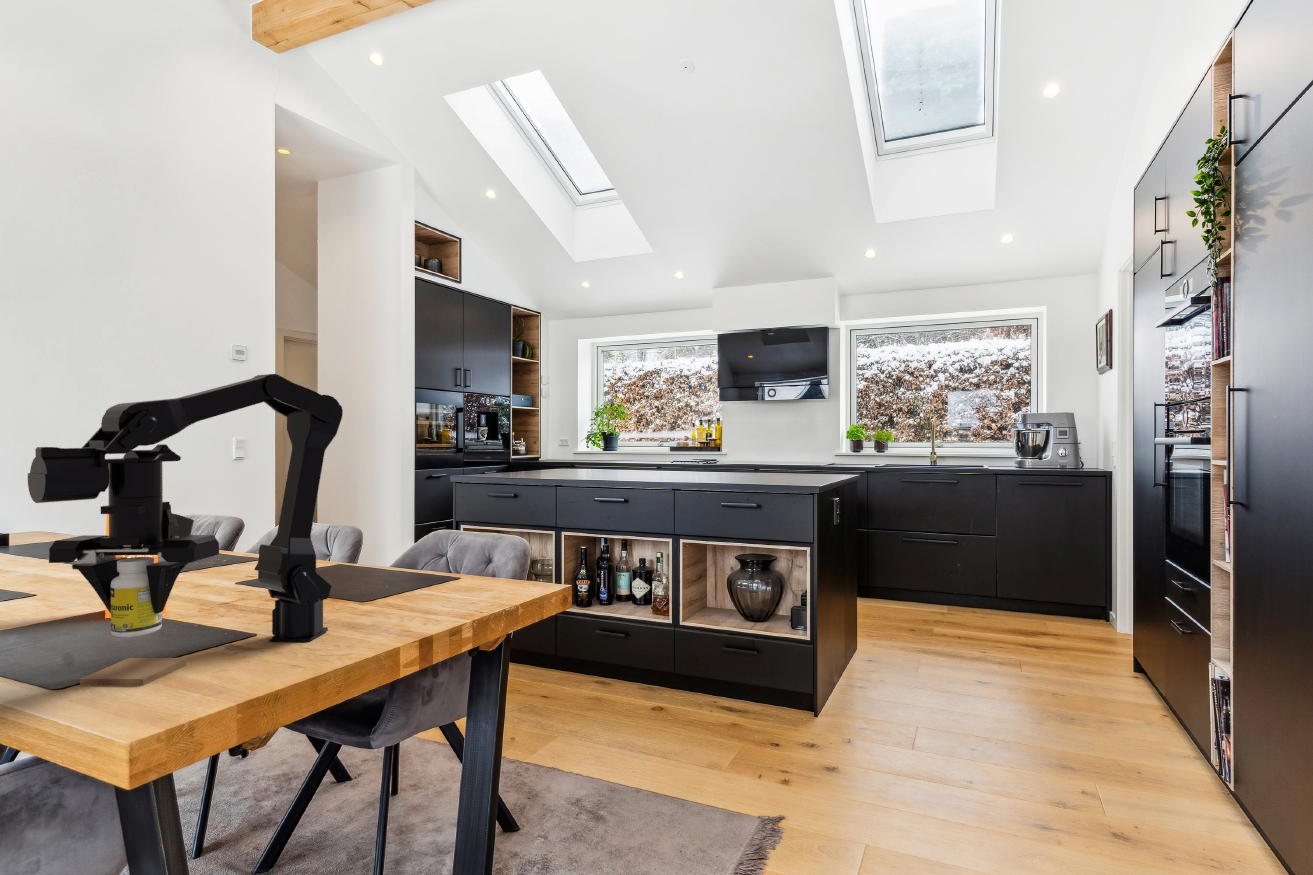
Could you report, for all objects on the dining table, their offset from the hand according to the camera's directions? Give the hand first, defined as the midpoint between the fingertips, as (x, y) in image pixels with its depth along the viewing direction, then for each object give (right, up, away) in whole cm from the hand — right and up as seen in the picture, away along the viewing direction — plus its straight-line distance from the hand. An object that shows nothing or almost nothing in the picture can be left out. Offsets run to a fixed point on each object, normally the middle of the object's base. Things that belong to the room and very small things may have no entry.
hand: (136, 612), depth 89 cm
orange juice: (-27, -10, +34) cm, 45 cm away
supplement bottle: (0, -3, 0) cm, 3 cm away
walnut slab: (0, -10, 0) cm, 10 cm away
